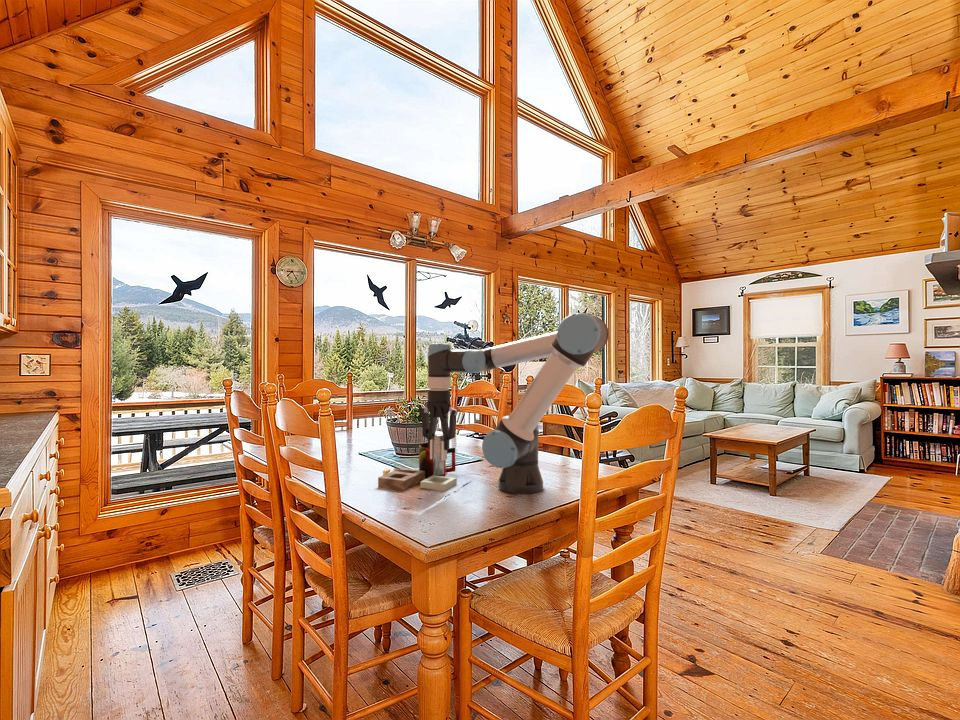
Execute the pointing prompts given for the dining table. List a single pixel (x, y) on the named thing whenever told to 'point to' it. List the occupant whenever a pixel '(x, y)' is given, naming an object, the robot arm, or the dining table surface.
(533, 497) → the dining table surface
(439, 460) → the peg
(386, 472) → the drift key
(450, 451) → the mug
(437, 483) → the cream square frame
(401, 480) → the socket block
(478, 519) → the dining table surface
